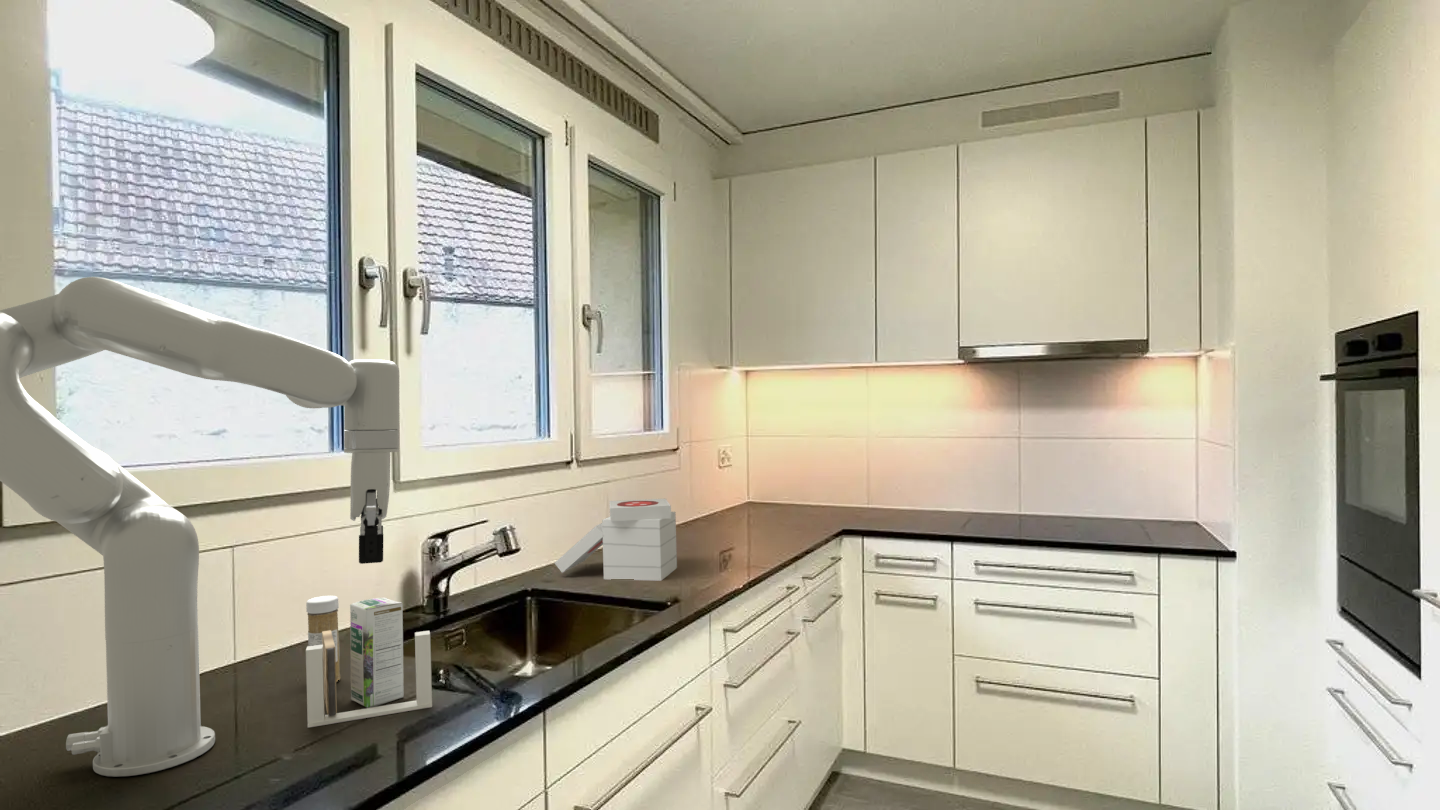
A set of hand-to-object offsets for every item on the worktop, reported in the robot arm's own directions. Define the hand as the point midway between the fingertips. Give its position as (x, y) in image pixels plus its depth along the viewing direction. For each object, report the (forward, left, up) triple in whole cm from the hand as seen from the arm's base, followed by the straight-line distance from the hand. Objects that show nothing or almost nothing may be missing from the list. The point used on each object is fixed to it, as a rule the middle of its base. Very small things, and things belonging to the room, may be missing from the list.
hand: (371, 557), depth 117 cm
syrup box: (0, 0, -22) cm, 22 cm away
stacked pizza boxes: (+58, +67, -22) cm, 91 cm away
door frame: (0, -6, -21) cm, 22 cm away
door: (-6, -1, -21) cm, 21 cm away
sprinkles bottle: (-7, +12, -22) cm, 26 cm away
